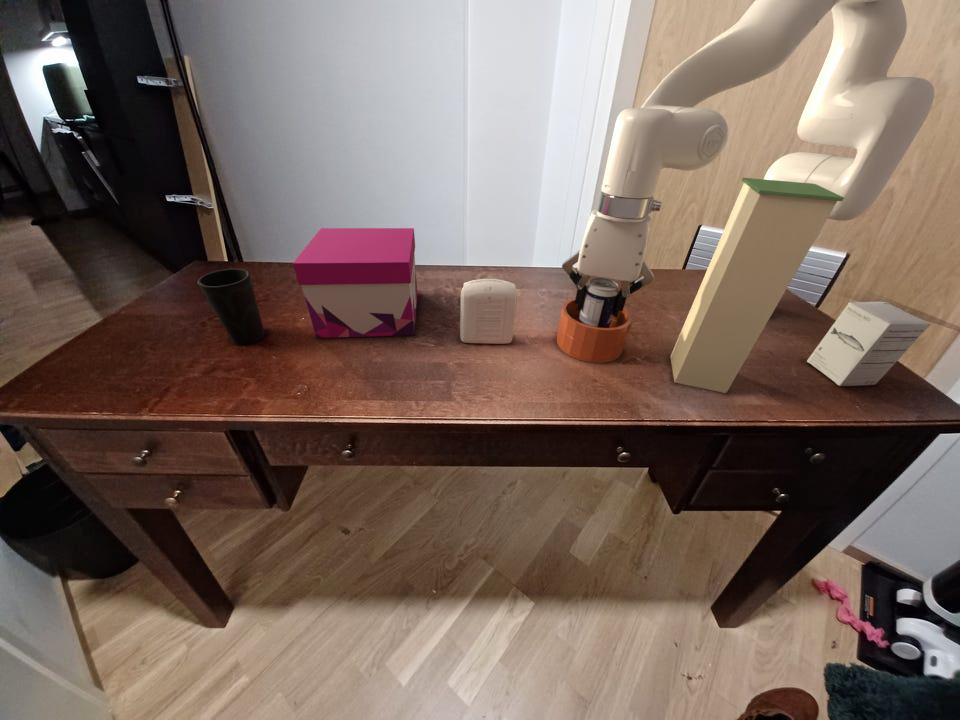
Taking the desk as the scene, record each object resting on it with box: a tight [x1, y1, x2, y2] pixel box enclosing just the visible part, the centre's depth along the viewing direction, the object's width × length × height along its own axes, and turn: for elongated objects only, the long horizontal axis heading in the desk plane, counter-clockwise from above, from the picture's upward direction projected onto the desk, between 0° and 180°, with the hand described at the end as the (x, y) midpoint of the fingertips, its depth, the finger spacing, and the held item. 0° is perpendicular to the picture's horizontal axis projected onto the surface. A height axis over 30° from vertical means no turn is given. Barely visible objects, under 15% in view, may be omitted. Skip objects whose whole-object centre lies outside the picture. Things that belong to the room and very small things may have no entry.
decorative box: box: [292, 227, 418, 339], centre depth 73 cm, size 19×19×15 cm
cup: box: [197, 268, 266, 346], centre depth 66 cm, size 8×8×12 cm
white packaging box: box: [806, 301, 932, 387], centre depth 62 cm, size 7×7×13 cm
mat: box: [741, 177, 844, 201], centre depth 46 cm, size 9×9×1 cm
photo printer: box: [459, 278, 518, 345], centre depth 67 cm, size 10×4×12 cm, turn 92°
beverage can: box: [578, 277, 620, 328], centre depth 67 cm, size 6×6×12 cm
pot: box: [556, 297, 633, 364], centre depth 69 cm, size 12×12×7 cm
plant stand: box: [669, 182, 837, 394], centre depth 55 cm, size 8×8×30 cm
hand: (597, 309), depth 66 cm, fingers closed on beverage can, 5 cm apart
